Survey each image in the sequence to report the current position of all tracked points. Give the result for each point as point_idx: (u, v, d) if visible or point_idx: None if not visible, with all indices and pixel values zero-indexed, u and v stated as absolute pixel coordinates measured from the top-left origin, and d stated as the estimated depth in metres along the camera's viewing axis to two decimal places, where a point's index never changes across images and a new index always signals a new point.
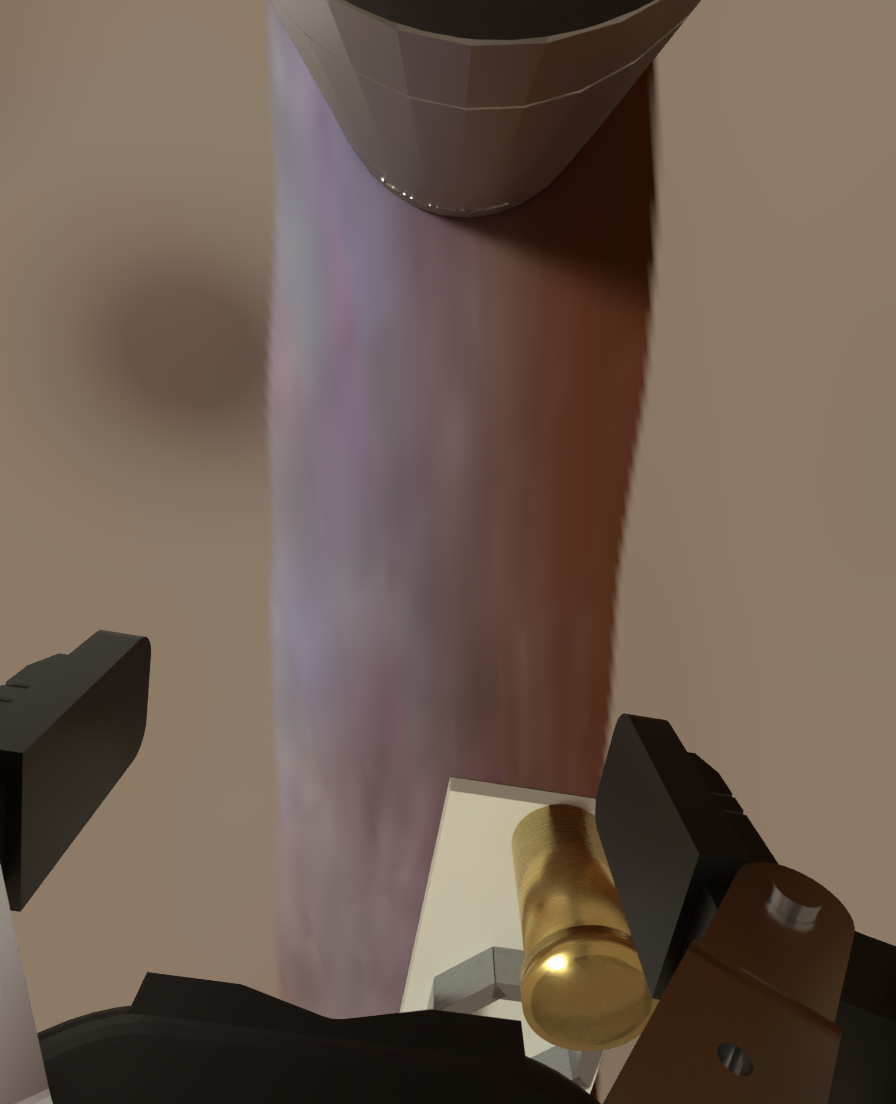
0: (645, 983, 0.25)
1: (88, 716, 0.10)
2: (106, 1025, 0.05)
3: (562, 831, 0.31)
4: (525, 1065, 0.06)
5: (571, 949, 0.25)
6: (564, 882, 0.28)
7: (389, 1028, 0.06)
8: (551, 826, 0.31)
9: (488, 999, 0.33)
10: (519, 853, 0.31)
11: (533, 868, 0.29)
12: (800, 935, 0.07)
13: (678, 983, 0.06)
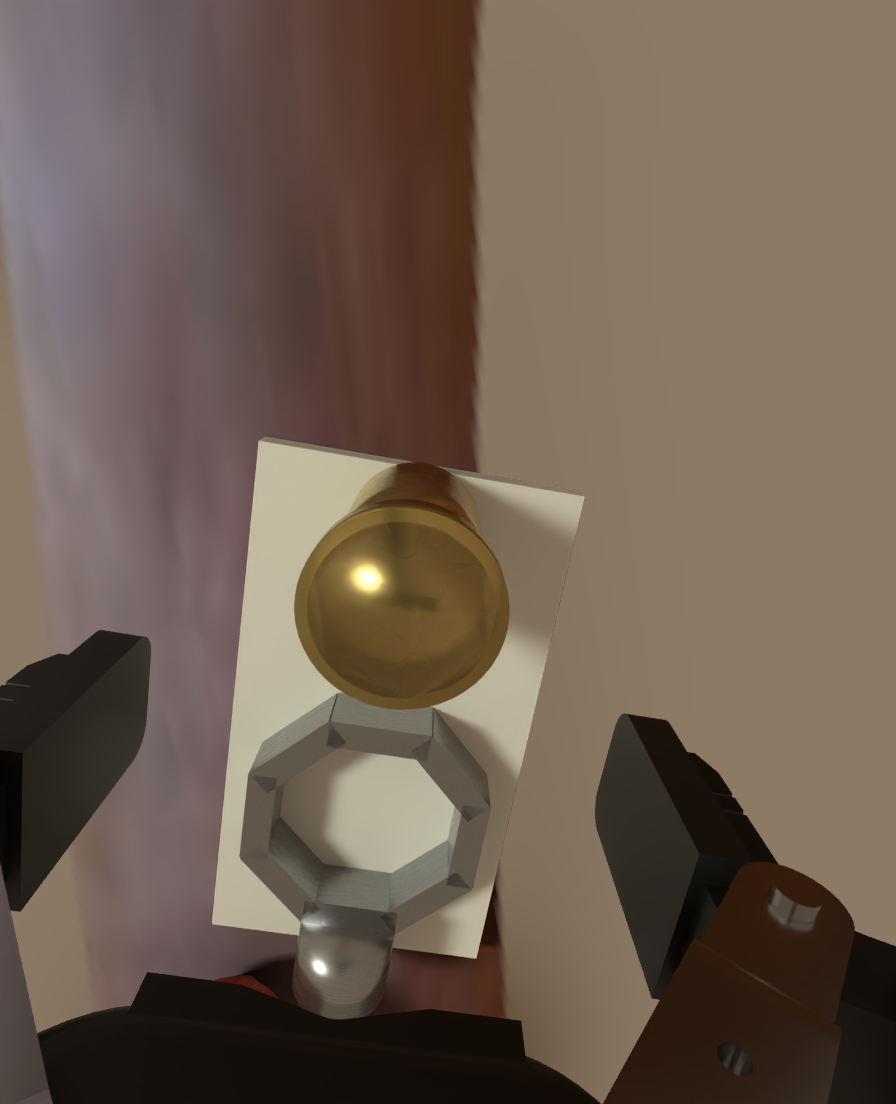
0: (482, 577, 0.16)
1: (88, 717, 0.10)
2: (106, 1025, 0.05)
3: (404, 472, 0.22)
4: (525, 1065, 0.06)
5: (361, 514, 0.16)
6: (386, 493, 0.19)
7: (387, 1029, 0.06)
8: (391, 472, 0.22)
9: (321, 748, 0.24)
10: None
11: (355, 503, 0.20)
12: (800, 935, 0.07)
13: (678, 983, 0.06)
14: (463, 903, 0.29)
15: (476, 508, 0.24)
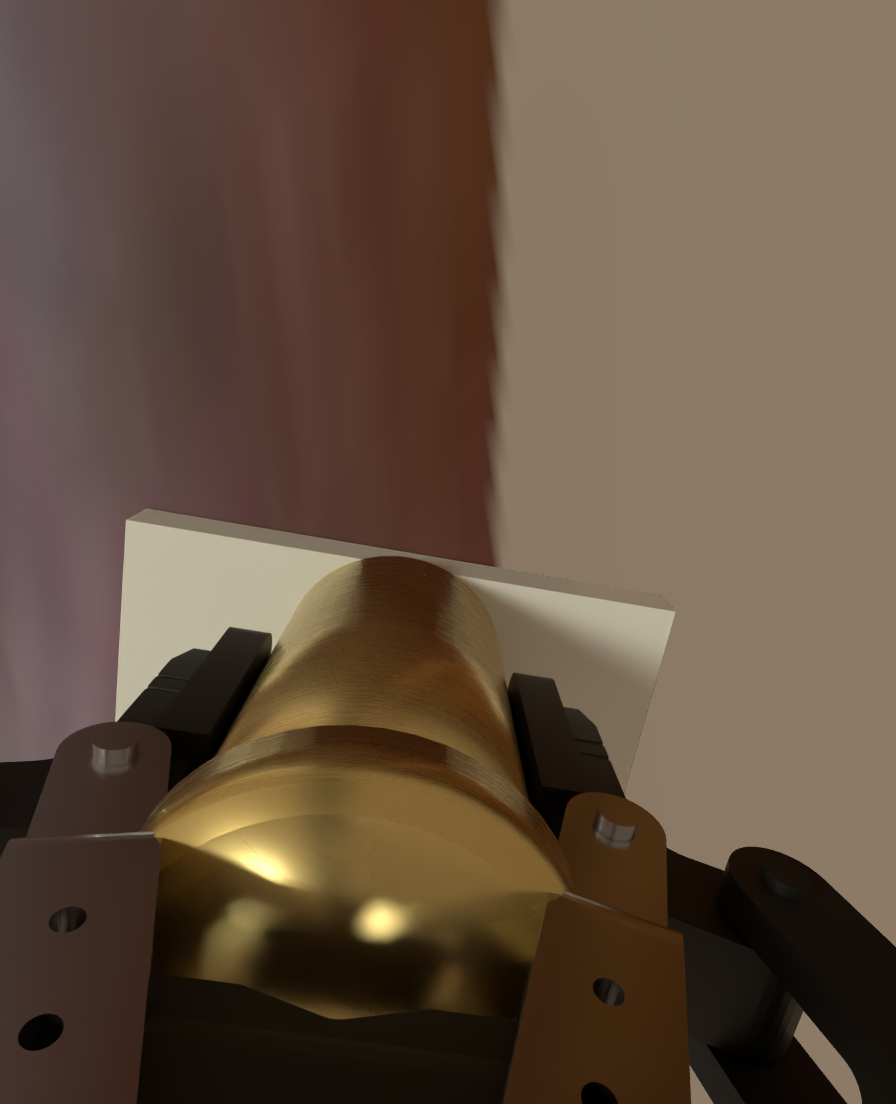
0: (533, 935, 0.07)
1: (239, 705, 0.10)
2: None
3: (370, 585, 0.12)
4: None
5: (230, 793, 0.06)
6: (325, 657, 0.09)
7: (388, 1029, 0.06)
8: (349, 582, 0.13)
9: None
10: None
11: (274, 656, 0.11)
12: (610, 849, 0.08)
13: (547, 934, 0.06)
14: None
15: (495, 631, 0.14)
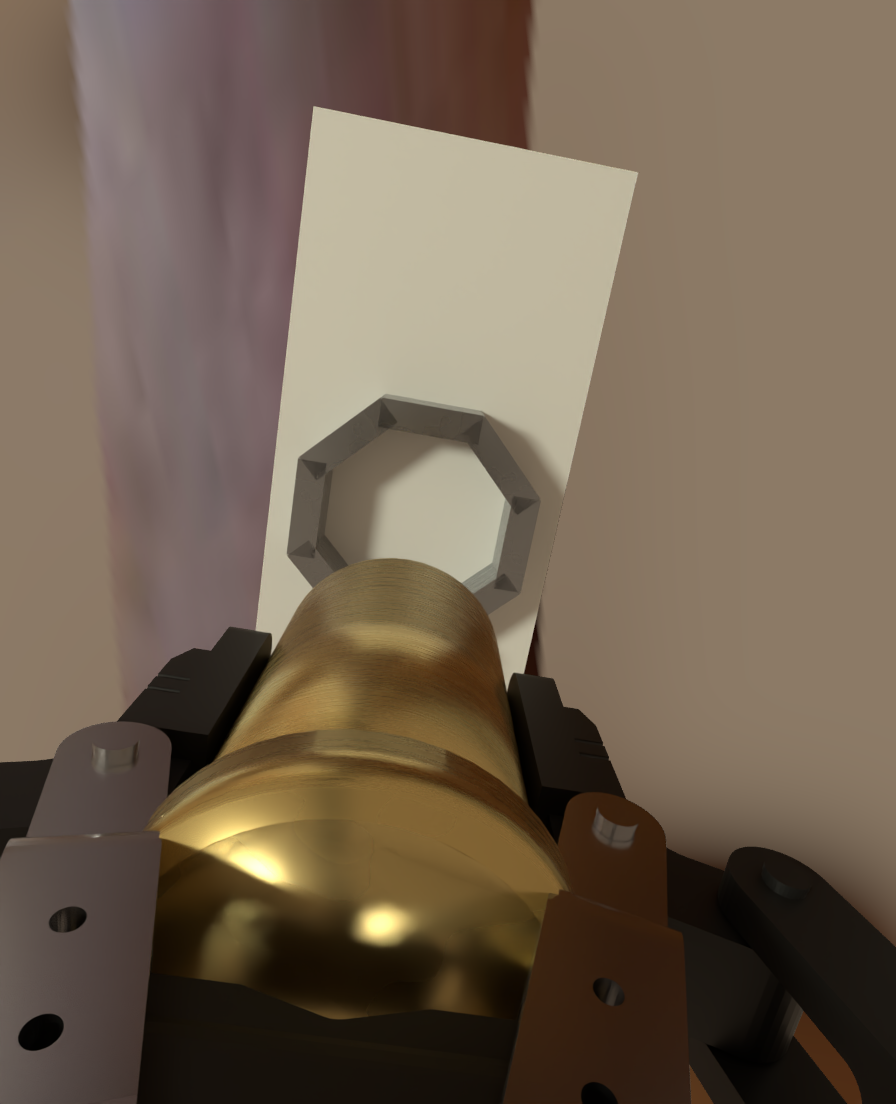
0: (533, 939, 0.07)
1: (239, 704, 0.10)
2: None
3: (370, 588, 0.12)
4: None
5: (229, 798, 0.06)
6: (324, 661, 0.09)
7: (387, 1029, 0.06)
8: (348, 585, 0.13)
9: (373, 429, 0.24)
10: None
11: (273, 659, 0.11)
12: (610, 849, 0.08)
13: (546, 933, 0.06)
14: (506, 636, 0.28)
15: (494, 633, 0.14)
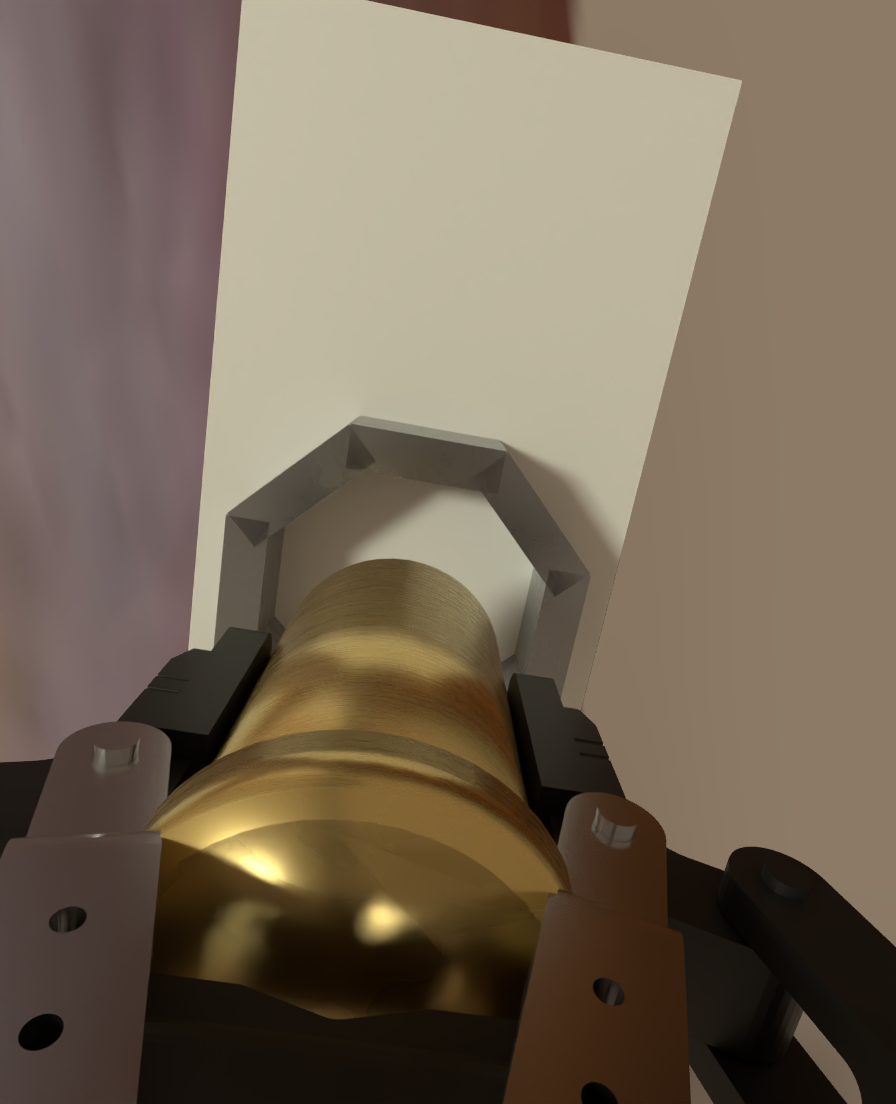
0: (532, 939, 0.07)
1: (239, 705, 0.10)
2: None
3: (369, 588, 0.12)
4: None
5: (230, 798, 0.06)
6: (324, 661, 0.09)
7: (387, 1029, 0.06)
8: (348, 586, 0.13)
9: (338, 471, 0.16)
10: None
11: (273, 659, 0.11)
12: (610, 849, 0.08)
13: (546, 934, 0.06)
14: None
15: (494, 634, 0.14)
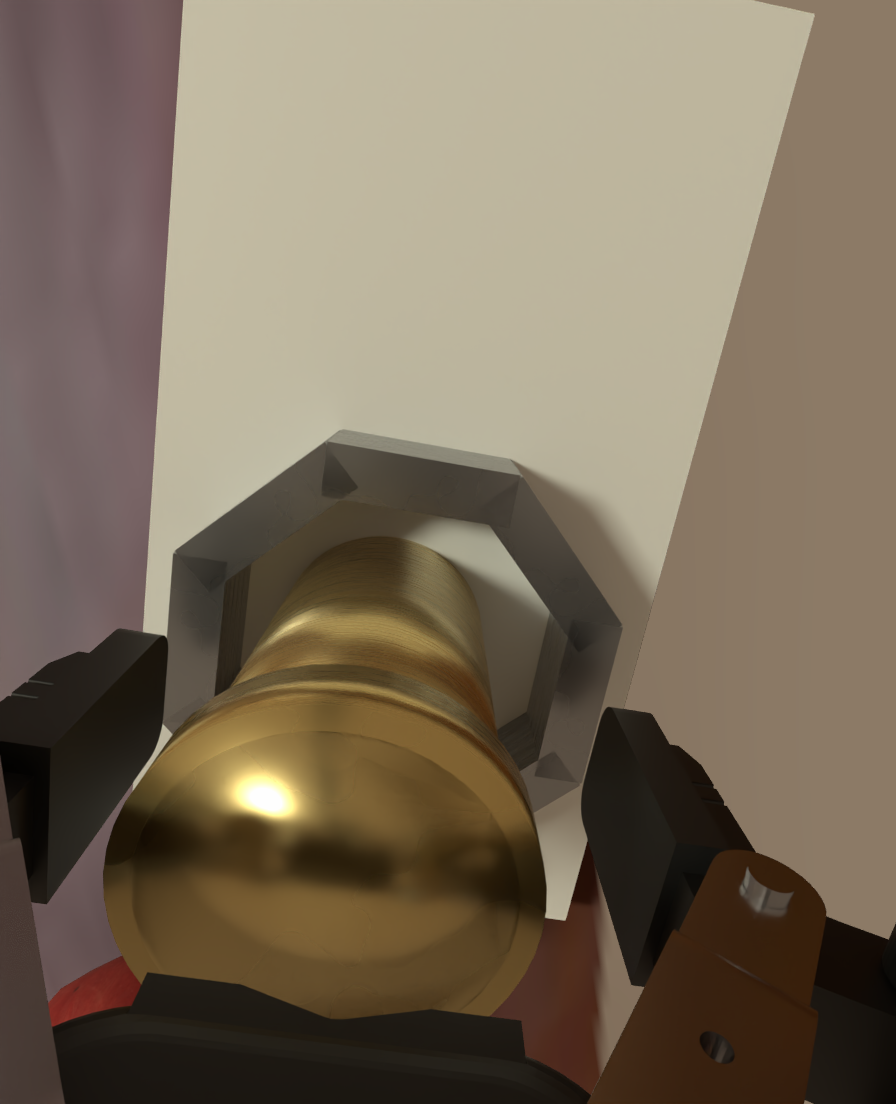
0: (492, 837, 0.08)
1: (110, 713, 0.10)
2: (106, 1025, 0.05)
3: (361, 560, 0.13)
4: (525, 1065, 0.06)
5: (236, 714, 0.07)
6: (319, 618, 0.11)
7: (389, 1028, 0.06)
8: (341, 559, 0.14)
9: (312, 500, 0.13)
10: None
11: (274, 621, 0.12)
12: (771, 920, 0.07)
13: (659, 974, 0.06)
14: (549, 826, 0.17)
15: (477, 606, 0.15)
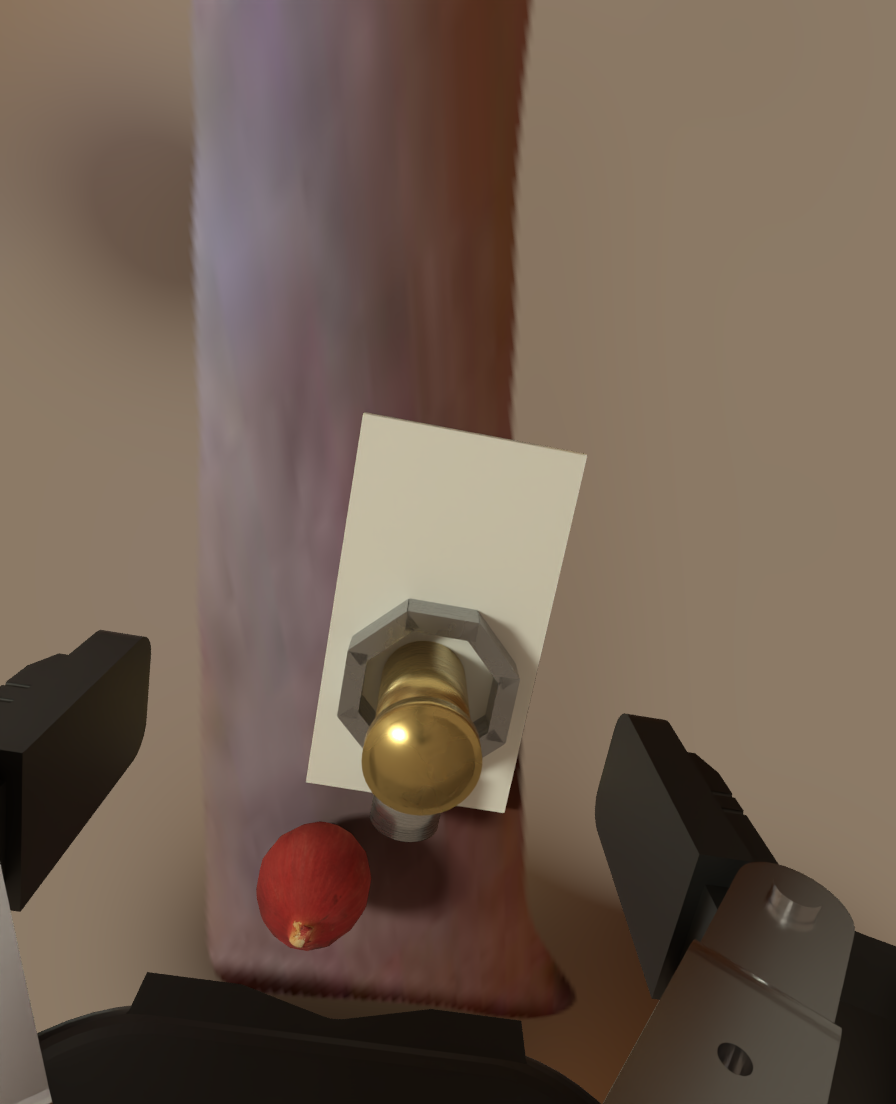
0: (467, 743, 0.29)
1: (88, 717, 0.10)
2: (106, 1025, 0.05)
3: (418, 654, 0.35)
4: (525, 1065, 0.06)
5: (400, 709, 0.29)
6: (410, 680, 0.32)
7: (388, 1029, 0.06)
8: (410, 652, 0.35)
9: (401, 631, 0.34)
10: (382, 677, 0.35)
11: (389, 679, 0.33)
12: (800, 935, 0.07)
13: (678, 983, 0.06)
14: (496, 767, 0.38)
15: (463, 669, 0.37)
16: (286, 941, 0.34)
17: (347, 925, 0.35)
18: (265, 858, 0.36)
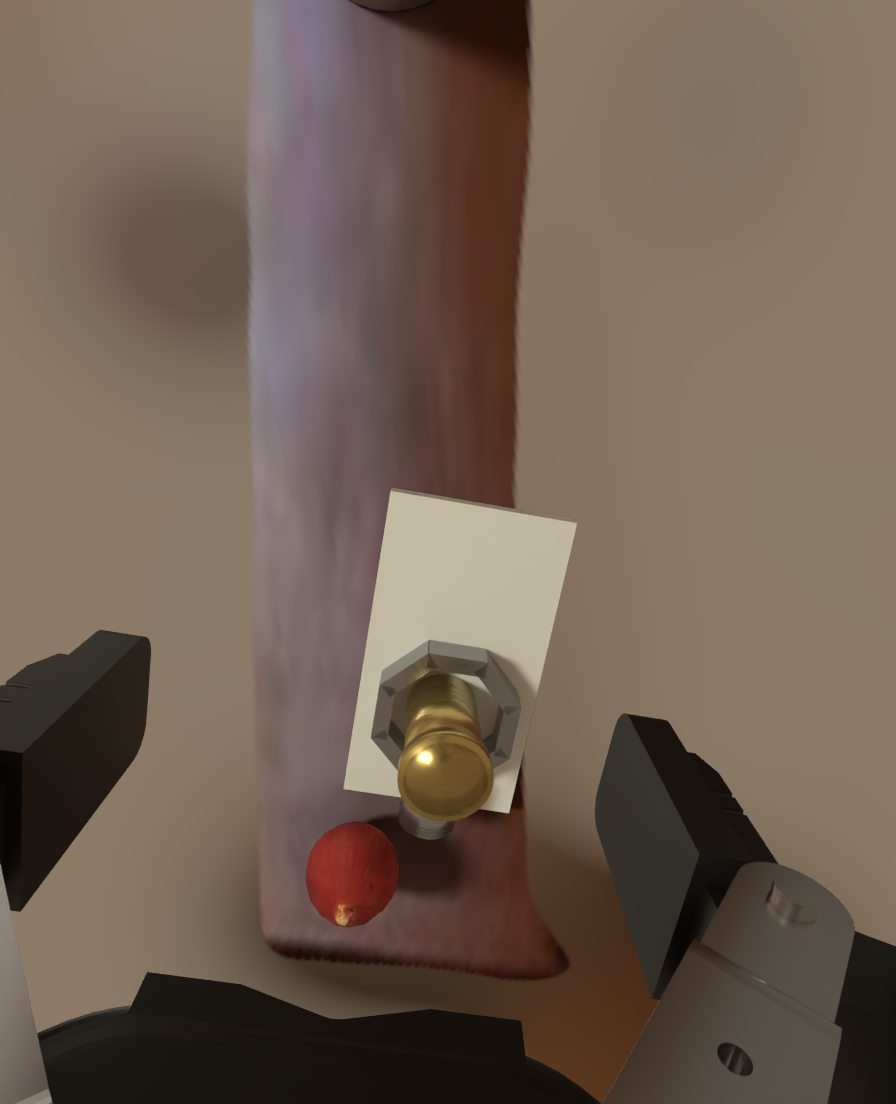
0: (481, 763, 0.36)
1: (88, 717, 0.10)
2: (106, 1025, 0.05)
3: (437, 687, 0.42)
4: (525, 1065, 0.06)
5: (427, 739, 0.36)
6: (432, 711, 0.39)
7: (387, 1029, 0.06)
8: (430, 685, 0.42)
9: (423, 669, 0.41)
10: (408, 707, 0.42)
11: (414, 710, 0.41)
12: (800, 935, 0.07)
13: (678, 983, 0.06)
14: (502, 776, 0.46)
15: (474, 696, 0.44)
16: (332, 920, 0.42)
17: (381, 907, 0.42)
18: (312, 852, 0.44)
